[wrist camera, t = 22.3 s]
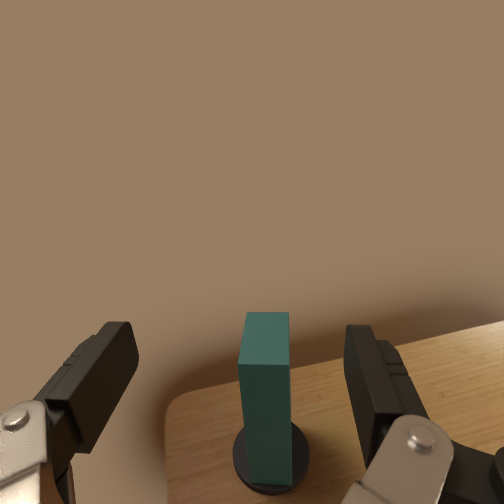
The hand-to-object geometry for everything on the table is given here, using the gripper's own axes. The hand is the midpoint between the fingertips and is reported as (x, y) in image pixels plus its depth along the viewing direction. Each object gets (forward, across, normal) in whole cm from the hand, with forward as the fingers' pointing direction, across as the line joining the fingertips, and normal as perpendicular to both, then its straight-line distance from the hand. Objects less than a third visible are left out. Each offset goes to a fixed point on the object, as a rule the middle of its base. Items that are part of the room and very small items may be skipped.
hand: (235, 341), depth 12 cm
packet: (+10, 0, +21) cm, 23 cm away
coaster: (+10, 0, +21) cm, 24 cm away
